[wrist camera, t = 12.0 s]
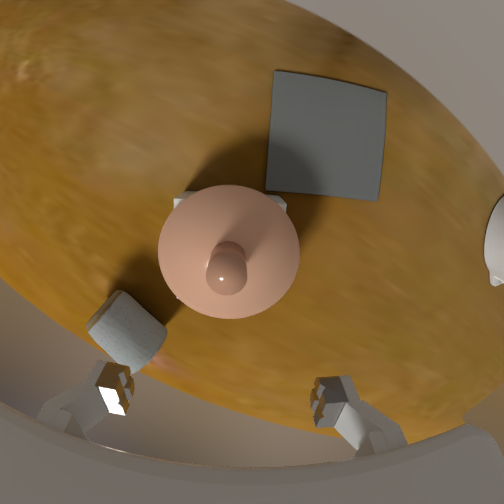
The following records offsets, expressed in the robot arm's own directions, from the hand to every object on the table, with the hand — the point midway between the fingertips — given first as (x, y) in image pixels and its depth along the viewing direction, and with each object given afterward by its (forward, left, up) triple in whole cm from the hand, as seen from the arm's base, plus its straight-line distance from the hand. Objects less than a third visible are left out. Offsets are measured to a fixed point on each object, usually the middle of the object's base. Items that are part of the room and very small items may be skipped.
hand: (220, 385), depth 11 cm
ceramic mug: (+13, +12, -21) cm, 28 cm away
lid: (0, 0, -16) cm, 16 cm away
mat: (-10, -12, -21) cm, 26 cm away
